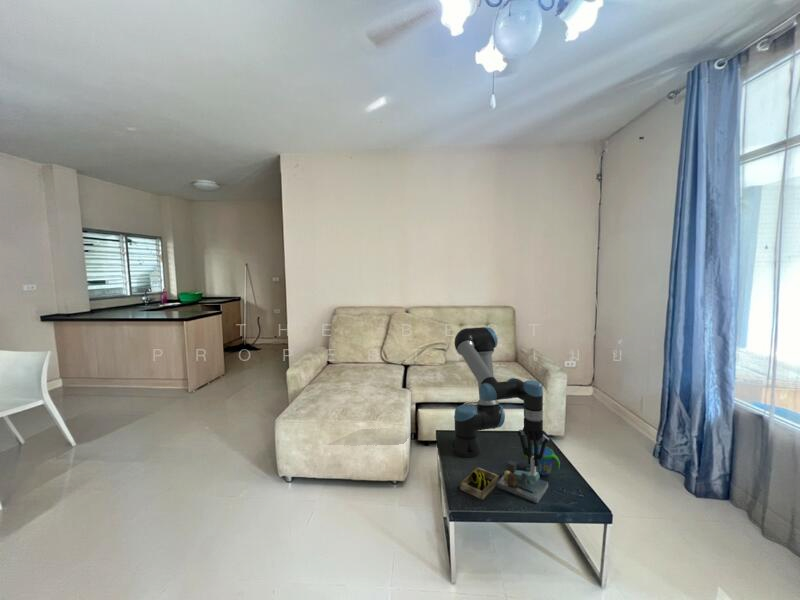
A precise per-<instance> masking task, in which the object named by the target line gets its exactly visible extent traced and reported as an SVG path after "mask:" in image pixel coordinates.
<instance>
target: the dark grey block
mask: <svg viewBox="0 0 800 600" xmlns="http://www.w3.org/2000/svg"><path fill="white" fill-rule="evenodd" d="M517 468H518V467H517V462H516V461H512V460H509V461H508V462H507V471H510V472H512V473H514V472H515V471H516V470H517Z"/></svg>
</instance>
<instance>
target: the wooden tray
mask: <svg viewBox="0 0 800 600" xmlns="http://www.w3.org/2000/svg"><path fill="white" fill-rule="evenodd" d="M473 471H476V472H479V473H483V474H484V477H485V479H488V480H490V481H489V484H490V485H487V486H486V487H485V489H484V490H482V489H480V490H478V488H476V487H474V486H472V485H470V483H471V482H472V480H471V478H472V474H471V473H469V474H468V475H467V476H466V477H465V478H464V479H463V480H462V481H460V484H459V486H460V487H459V490H460V491H463V492H465V493H467V494H469V495H471V496H472V497H473V496H474V497H476V498H478V499H479V500H482V501H483V500H484V499H485V498H486V497H487V496H488V495H489V494H490V493H491V492H492V491H493V490H494V489H495V487H497V482H498V481H499V480H500V475H499V474H496V473H494V472H491V471H488V470H486V469H484V468H481V467H476V468H475V469H474V470H473Z"/></svg>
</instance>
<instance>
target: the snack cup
mask: <svg viewBox="0 0 800 600" xmlns="http://www.w3.org/2000/svg"><path fill="white" fill-rule="evenodd" d="M541 446H542V444H541V445H540V444H539V453H540V450H541ZM532 456H534V444H533V455H532ZM523 459H524V460H525V461H526V460H528V456H527V455H525V454H524V453H523ZM554 459H555V461H556V463H557V468H556V469H557V471H559V470H560V468H561V467H560V466H561V462H560V459H559V457H558V456H557V454H555V452H554V450H553V449H552V448H550V447H549V446H546V448H545V452H544V455H543V458H542V459H541V460H540V459H538V466H537V467H536V472H539V476H541V475H542V476H548V475H550V474H551V469H552V465H553V464H552V463H553V460H554Z"/></svg>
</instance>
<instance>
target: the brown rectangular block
mask: <svg viewBox="0 0 800 600" xmlns="http://www.w3.org/2000/svg"><path fill="white" fill-rule="evenodd" d="M508 485H511V486H513V487H515V486H516V485H517V474H514V473H512V472H510V473H509V474H508Z"/></svg>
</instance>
